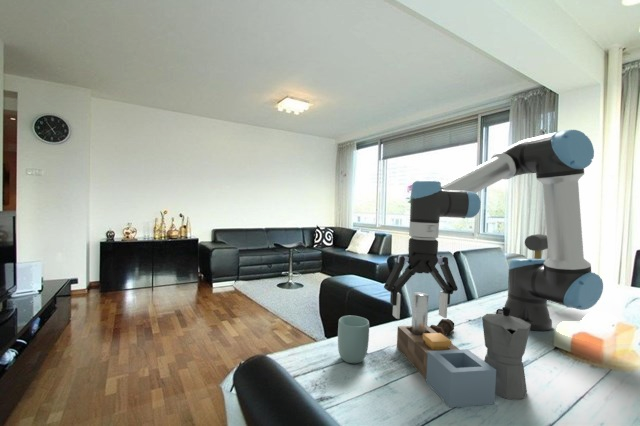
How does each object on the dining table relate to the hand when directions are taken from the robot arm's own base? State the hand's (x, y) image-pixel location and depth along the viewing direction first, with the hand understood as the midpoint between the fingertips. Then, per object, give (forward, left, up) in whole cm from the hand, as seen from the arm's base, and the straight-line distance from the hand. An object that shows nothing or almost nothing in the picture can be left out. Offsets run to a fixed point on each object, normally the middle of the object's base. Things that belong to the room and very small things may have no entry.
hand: (419, 316), depth 84 cm
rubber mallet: (-81, -44, -10) cm, 93 cm away
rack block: (0, +18, -10) cm, 20 cm away
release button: (0, +9, -9) cm, 12 cm away
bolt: (-13, -10, -10) cm, 20 cm away
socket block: (0, +4, -10) cm, 11 cm away
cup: (+19, +2, -10) cm, 22 cm away
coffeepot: (-12, +16, -10) cm, 23 cm away
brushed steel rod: (0, 0, -10) cm, 10 cm away
